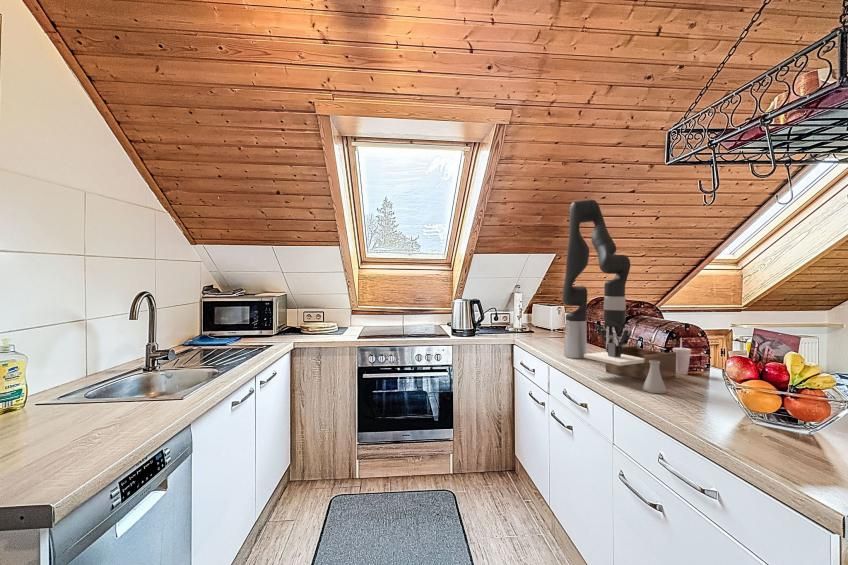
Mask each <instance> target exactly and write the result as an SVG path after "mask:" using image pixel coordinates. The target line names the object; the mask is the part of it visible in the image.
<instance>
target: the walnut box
mask: <svg viewBox="0 0 848 565" xmlns="http://www.w3.org/2000/svg"><path fill="white" fill-rule="evenodd" d="M605 352H607V348H606V347H605ZM622 354H624V355H629V356H634V357H639V358H644V359H645V363H638V364H630V365H622V366H619V365H615V364H611V363H606V362H605V372H606V373H608V374H611V375H615V376H620V377H622V378H626V379H631V380H635V381H638V382H642V383H645V381H646V378H647V376H648V373H649V369H650V362H649V361H651V360H654V361H660V364H659V370H660V374H661V377H662V380H663V381H666V380H672V378H673V379H676V378H677V373H676V353H675V352H674V351H673V352H672V351H671V352H663V351H656V350H651V349H646V348H640V347H638V345H625V347H622ZM665 379H666V380H665Z"/></svg>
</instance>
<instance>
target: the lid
mask: <svg viewBox="0 0 848 565" xmlns="http://www.w3.org/2000/svg"><path fill="white" fill-rule="evenodd" d="M615 346H616V343H615V342H612V343H608V352H606V351H602V352H591V353H586V354H584V357H585V358H584V359H590V360H594V361H598V362H603V363H605V364H606V363H611V364H615V365H619V366H622V365H630V364H638V363H645V359H644V358H639V357H634V356H629V355H624V354H621V356H616V355H615Z"/></svg>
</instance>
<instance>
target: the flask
mask: <svg viewBox="0 0 848 565" xmlns="http://www.w3.org/2000/svg"><path fill="white" fill-rule="evenodd" d="M649 362H650V369H649V373H648V376H647V378H646V381H645V382H643V385H642V387H641V388H642V390H643V391H645V392H647V393H652V394H666V393H668V391H667V388H666V386H665V382H664V380H662V377H661V374H660V370H659V364H660V361H654V360H651V361H649Z"/></svg>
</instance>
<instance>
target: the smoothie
mask: <svg viewBox="0 0 848 565" xmlns="http://www.w3.org/2000/svg"><path fill="white" fill-rule="evenodd" d="M679 340H680V342H679V346H680V347H673V348H672V351H673V352H675V353H676V375H677V374H678V375H684V376H685V375H686V376H687V375H688V373H689V366H690V358H691V353H692V349H691V348H687V347H683V337H680V339H679Z"/></svg>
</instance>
